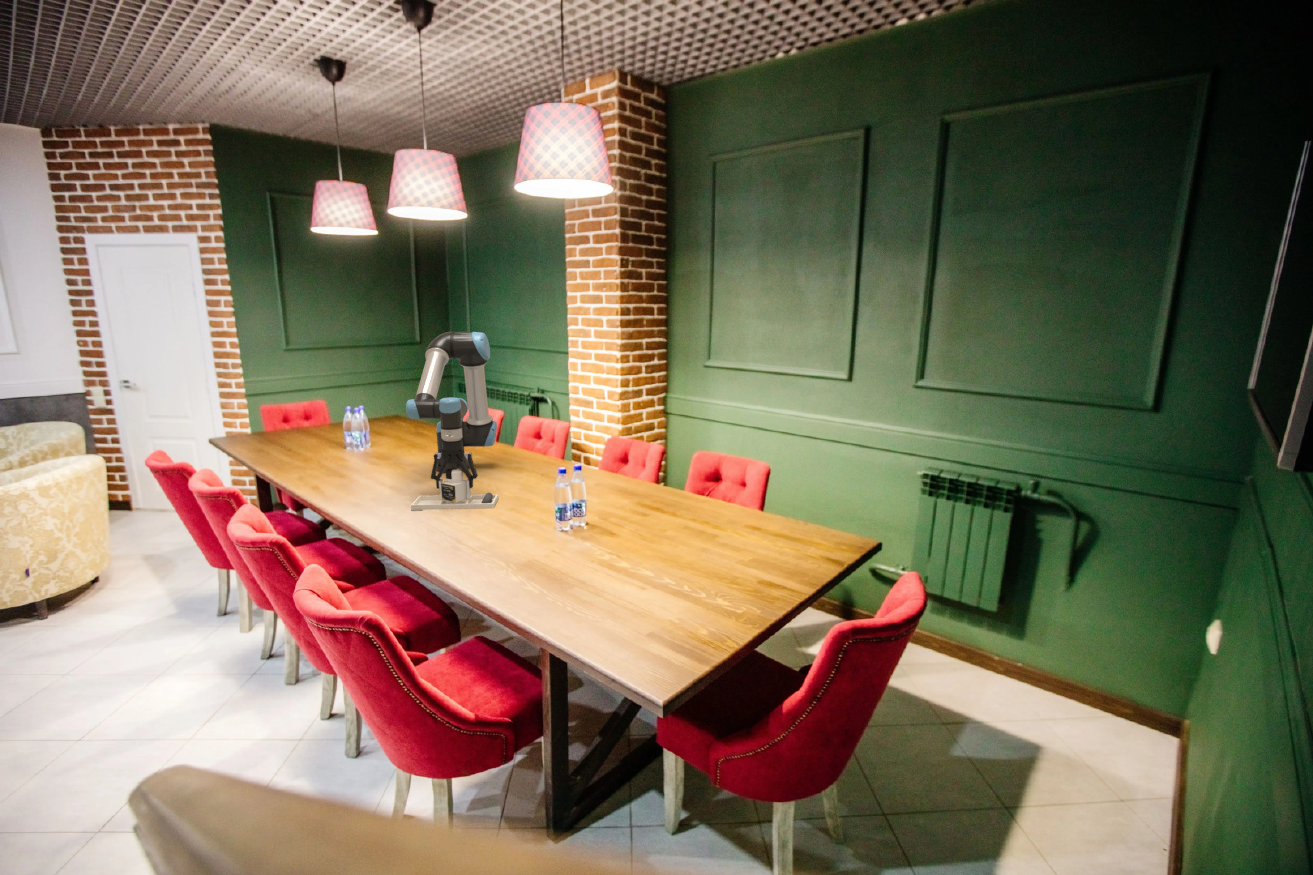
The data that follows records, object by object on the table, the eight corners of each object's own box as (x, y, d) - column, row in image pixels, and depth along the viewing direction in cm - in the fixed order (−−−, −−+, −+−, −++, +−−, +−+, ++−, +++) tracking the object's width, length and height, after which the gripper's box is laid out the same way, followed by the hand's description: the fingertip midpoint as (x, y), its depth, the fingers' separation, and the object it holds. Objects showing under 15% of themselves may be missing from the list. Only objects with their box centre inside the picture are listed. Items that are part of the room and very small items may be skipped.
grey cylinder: (484, 493, 247) (491, 492, 247) (486, 500, 247) (493, 499, 247) (480, 500, 239) (488, 498, 239) (482, 507, 240) (490, 505, 240)
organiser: (419, 501, 247) (419, 495, 246) (498, 499, 250) (498, 494, 249) (411, 510, 235) (410, 505, 235) (493, 509, 238) (493, 503, 238)
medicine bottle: (441, 500, 241) (439, 469, 238) (455, 495, 247) (453, 465, 244) (455, 503, 237) (453, 472, 235) (469, 498, 243) (467, 467, 241)
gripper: (418, 441, 232) (422, 499, 237) (480, 441, 234) (483, 498, 239) (424, 437, 240) (428, 493, 244) (484, 436, 242) (486, 492, 247)
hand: (455, 496), depth 242 cm, fingers closed on medicine bottle, 10 cm apart
